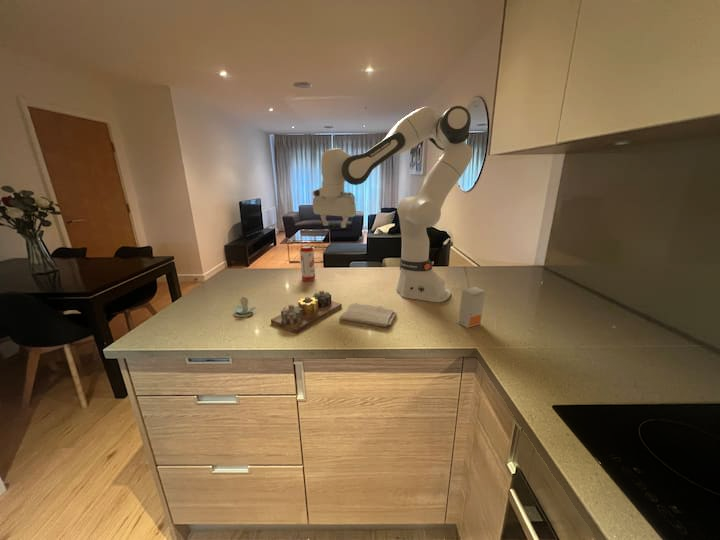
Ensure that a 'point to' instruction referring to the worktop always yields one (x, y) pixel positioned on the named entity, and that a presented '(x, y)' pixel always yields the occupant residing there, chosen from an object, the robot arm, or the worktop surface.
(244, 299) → the pacifier
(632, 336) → the worktop surface
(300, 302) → the brass gear
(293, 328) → the gear board
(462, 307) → the skincare box
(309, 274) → the beer can
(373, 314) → the washcloth
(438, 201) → the robot arm
